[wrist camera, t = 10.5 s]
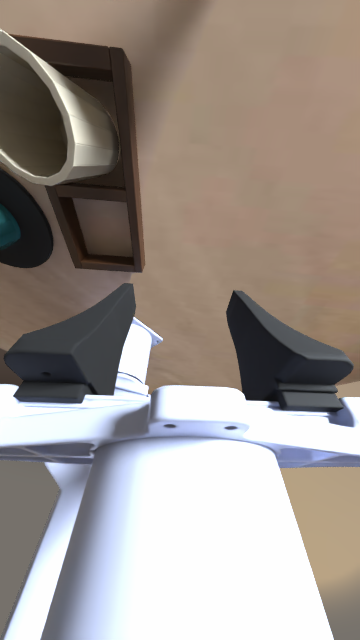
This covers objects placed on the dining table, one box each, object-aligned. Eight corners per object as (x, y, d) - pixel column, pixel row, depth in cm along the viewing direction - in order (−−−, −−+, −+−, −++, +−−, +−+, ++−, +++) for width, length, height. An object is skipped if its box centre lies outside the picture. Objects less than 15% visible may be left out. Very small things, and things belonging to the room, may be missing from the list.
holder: (83, 259, 20) (75, 268, 19) (15, 49, 11) (-14, 30, 9) (145, 264, 21) (142, 273, 19) (131, 64, 11) (122, 47, 10)
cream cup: (99, 189, 16) (49, 205, 10) (48, 132, 13) (-57, 109, 7) (131, 145, 14) (93, 132, 8) (78, 69, 11) (-32, -30, 5)
